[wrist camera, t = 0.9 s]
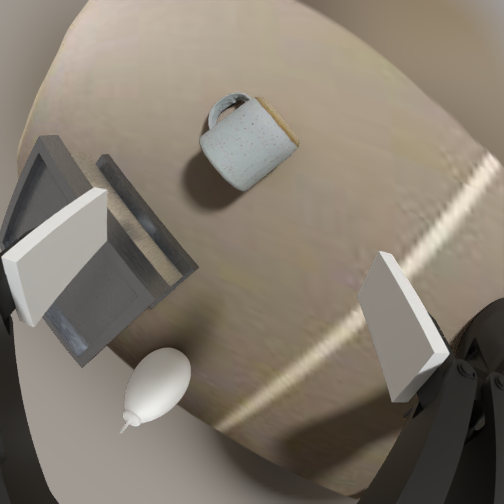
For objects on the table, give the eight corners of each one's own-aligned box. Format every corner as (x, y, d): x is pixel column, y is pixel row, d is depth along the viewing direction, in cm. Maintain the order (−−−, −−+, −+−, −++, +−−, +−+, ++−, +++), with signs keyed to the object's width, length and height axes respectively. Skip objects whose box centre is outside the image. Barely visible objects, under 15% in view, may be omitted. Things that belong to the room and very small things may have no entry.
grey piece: (218, 250, 38) (157, 302, 24) (143, 315, 44) (83, 370, 30) (122, 135, 36) (38, 134, 22) (68, 215, 43) (-4, 239, 29)
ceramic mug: (307, 146, 32) (301, 140, 25) (252, 190, 35) (232, 196, 28) (249, 81, 31) (228, 60, 24) (198, 125, 34) (168, 116, 27)
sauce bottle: (162, 327, 44) (93, 400, 27) (207, 351, 43) (151, 437, 27) (153, 360, 47) (94, 430, 30) (194, 382, 46) (144, 461, 29)
